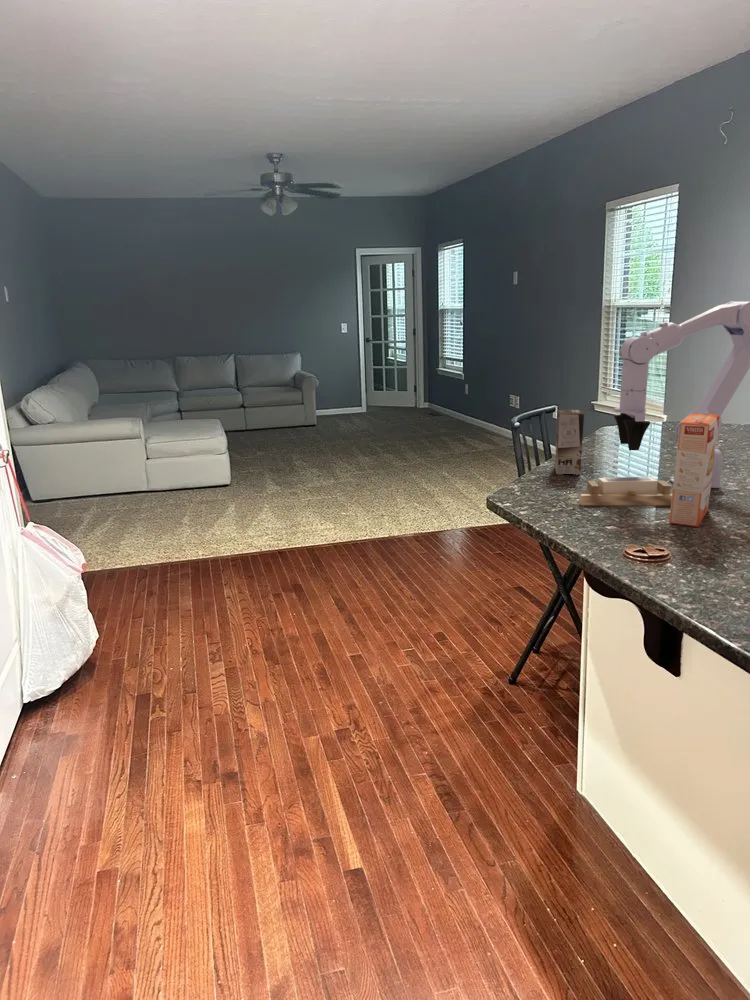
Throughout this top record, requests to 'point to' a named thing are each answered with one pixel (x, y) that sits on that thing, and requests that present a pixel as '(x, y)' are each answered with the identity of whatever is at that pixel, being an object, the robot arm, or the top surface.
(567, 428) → the coffee box
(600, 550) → the top surface
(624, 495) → the ledge
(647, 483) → the cream block
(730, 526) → the top surface
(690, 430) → the cracker box
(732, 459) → the top surface
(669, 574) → the top surface
